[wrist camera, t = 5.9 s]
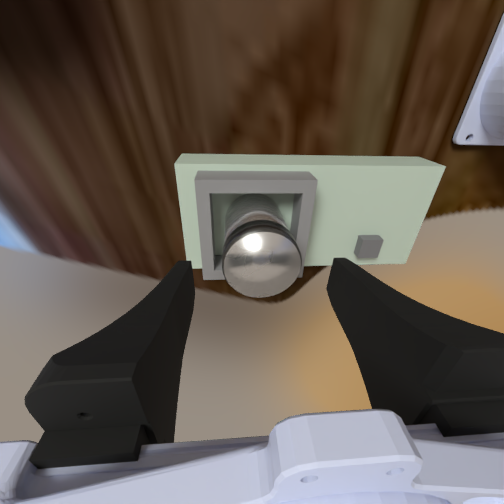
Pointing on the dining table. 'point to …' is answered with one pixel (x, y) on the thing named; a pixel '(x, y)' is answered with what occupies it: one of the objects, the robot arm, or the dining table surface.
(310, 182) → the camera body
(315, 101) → the dining table surface
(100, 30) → the dining table surface
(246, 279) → the lens
